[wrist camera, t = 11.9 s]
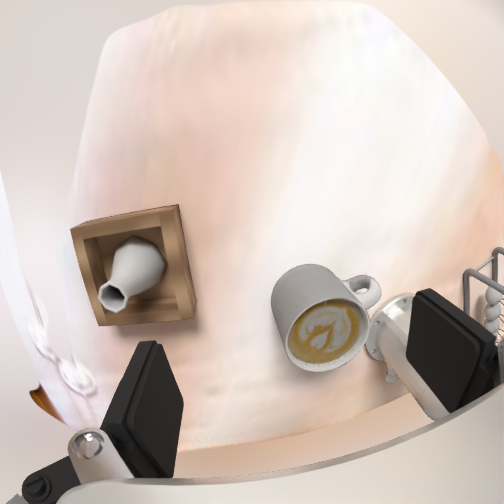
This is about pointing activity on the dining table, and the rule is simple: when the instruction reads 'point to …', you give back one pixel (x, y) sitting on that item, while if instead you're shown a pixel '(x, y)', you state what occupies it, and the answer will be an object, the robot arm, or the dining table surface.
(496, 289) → the newton's cradle
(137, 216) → the walnut well
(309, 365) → the coffee mug
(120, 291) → the flask
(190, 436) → the dining table surface
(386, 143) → the dining table surface
